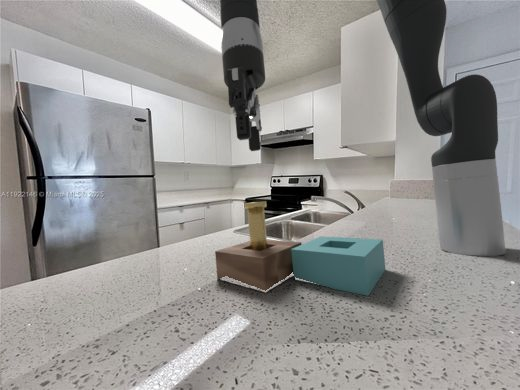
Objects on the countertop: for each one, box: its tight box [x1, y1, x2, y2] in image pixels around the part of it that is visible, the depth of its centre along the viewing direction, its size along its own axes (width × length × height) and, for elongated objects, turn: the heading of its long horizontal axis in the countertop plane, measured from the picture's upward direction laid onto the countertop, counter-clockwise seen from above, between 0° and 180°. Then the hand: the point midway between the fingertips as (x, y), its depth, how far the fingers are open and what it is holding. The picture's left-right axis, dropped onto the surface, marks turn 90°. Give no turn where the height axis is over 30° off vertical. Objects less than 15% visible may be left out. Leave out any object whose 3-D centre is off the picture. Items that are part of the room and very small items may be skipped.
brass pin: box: [243, 200, 268, 251], centre depth 38 cm, size 4×4×13 cm
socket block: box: [291, 235, 387, 297], centre depth 35 cm, size 11×11×5 cm
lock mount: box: [214, 239, 302, 291], centre depth 38 cm, size 11×11×5 cm
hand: (250, 145), depth 39 cm, fingers open, 8 cm apart
